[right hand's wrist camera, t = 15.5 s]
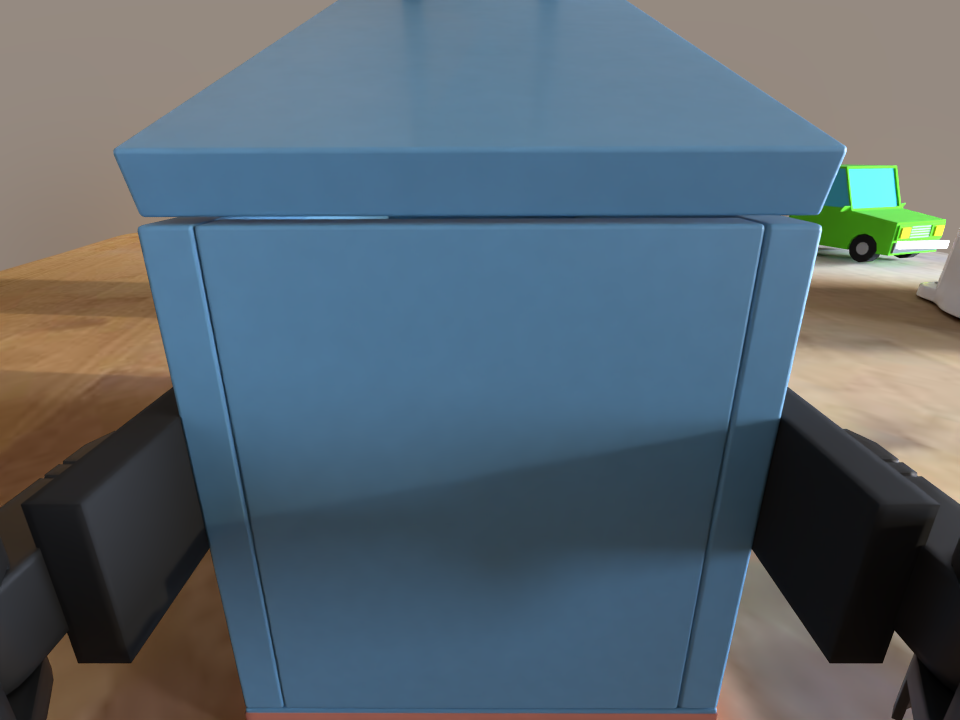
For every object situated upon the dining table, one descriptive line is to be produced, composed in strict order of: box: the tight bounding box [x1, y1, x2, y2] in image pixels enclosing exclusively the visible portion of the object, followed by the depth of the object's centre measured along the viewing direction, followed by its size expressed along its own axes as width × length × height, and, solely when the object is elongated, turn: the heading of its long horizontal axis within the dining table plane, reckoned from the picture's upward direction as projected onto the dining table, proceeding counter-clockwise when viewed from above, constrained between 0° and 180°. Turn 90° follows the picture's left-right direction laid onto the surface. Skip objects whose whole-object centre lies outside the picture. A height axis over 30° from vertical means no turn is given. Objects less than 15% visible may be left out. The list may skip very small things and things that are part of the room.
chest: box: [138, 215, 822, 720], centre depth 18 cm, size 18×10×11 cm, turn 0°
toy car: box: [789, 165, 946, 262], centre depth 63 cm, size 10×13×10 cm
